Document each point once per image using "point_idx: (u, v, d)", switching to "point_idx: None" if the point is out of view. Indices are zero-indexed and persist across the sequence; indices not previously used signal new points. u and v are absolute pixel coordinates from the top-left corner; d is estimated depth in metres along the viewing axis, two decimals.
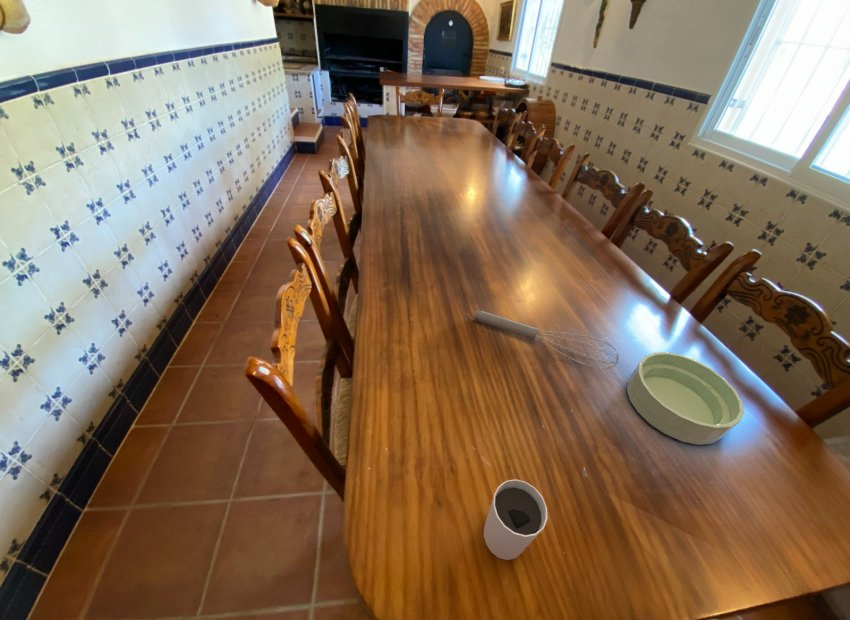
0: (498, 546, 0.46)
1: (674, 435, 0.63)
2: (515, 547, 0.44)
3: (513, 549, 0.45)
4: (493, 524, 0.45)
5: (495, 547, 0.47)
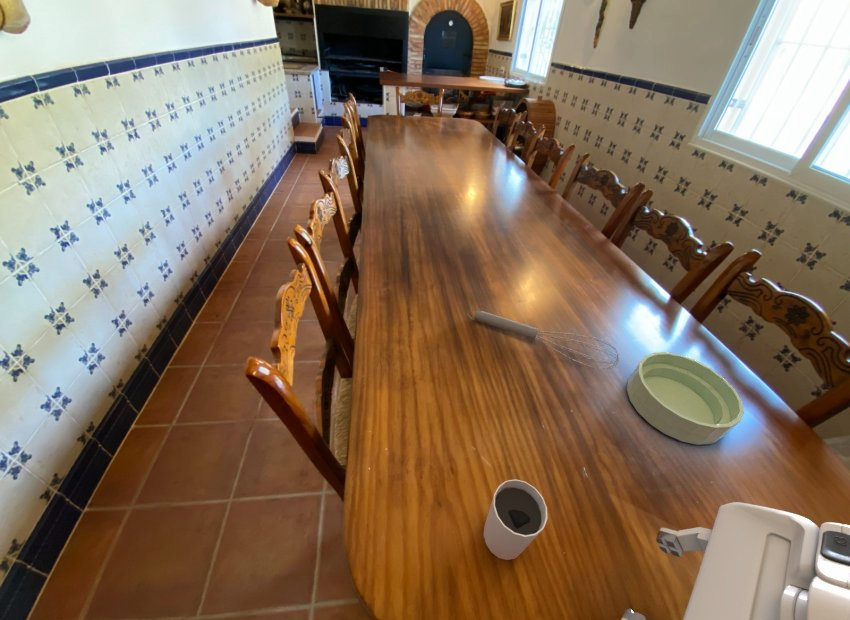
0: (498, 546, 0.46)
1: (674, 435, 0.63)
2: (515, 547, 0.44)
3: (513, 549, 0.45)
4: (493, 524, 0.45)
5: (495, 547, 0.47)
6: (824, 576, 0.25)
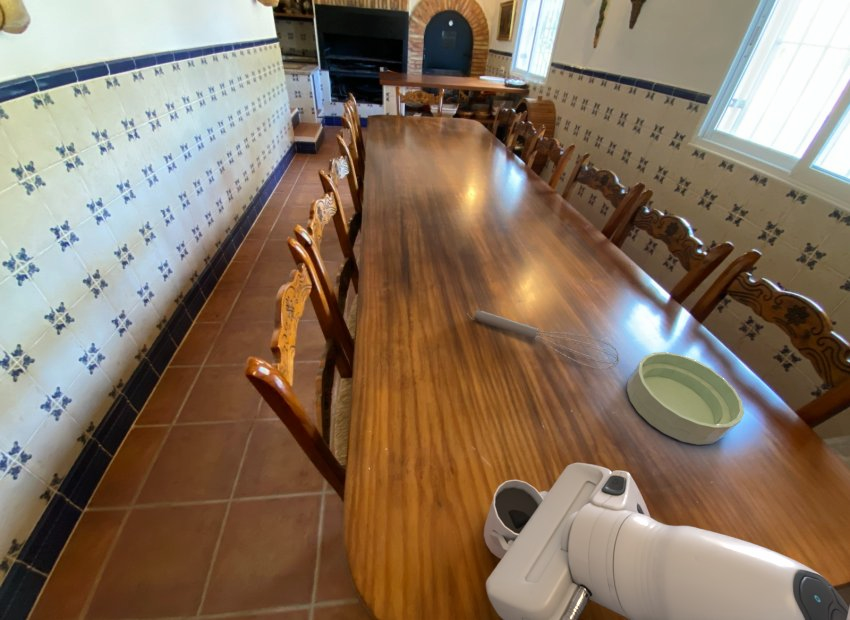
0: None
1: (674, 435, 0.63)
2: None
3: None
4: (493, 524, 0.45)
5: (495, 547, 0.47)
6: (593, 501, 0.38)
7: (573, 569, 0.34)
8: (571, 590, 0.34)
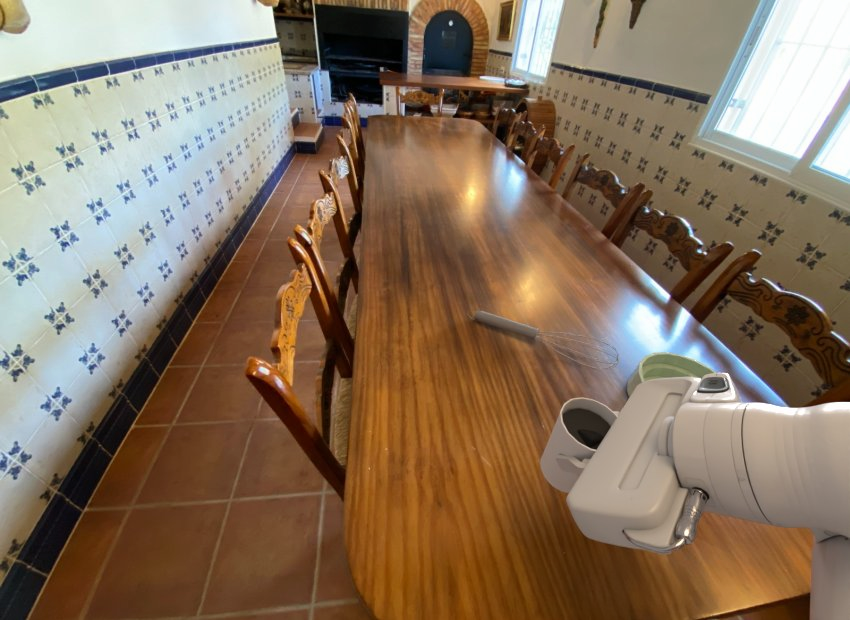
0: (563, 474, 0.40)
1: None
2: None
3: None
4: (560, 446, 0.38)
5: (559, 477, 0.41)
6: (693, 400, 0.32)
7: (682, 470, 0.28)
8: (681, 494, 0.28)
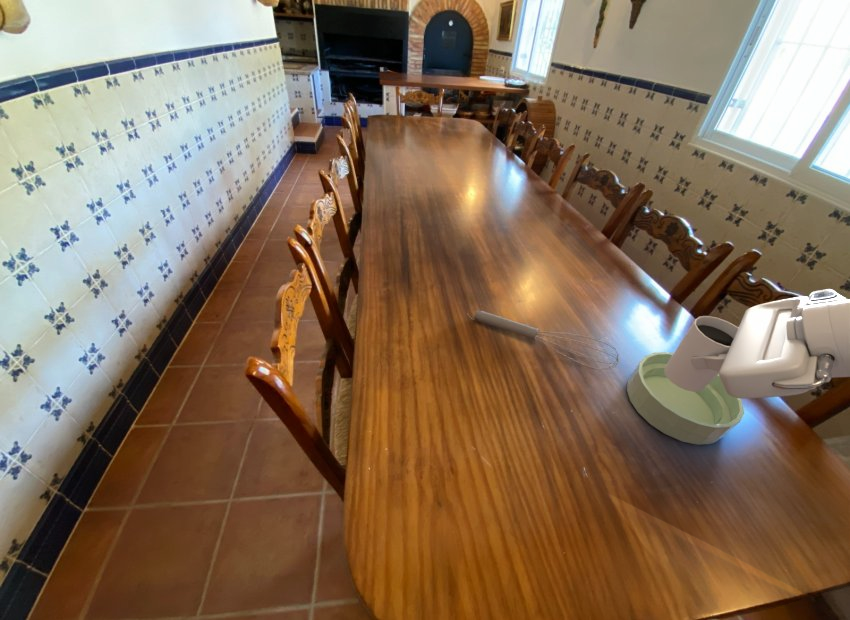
0: (693, 374, 0.53)
1: (674, 435, 0.63)
2: None
3: (711, 372, 0.51)
4: (694, 349, 0.51)
5: (687, 377, 0.53)
6: (811, 303, 0.44)
7: (812, 344, 0.41)
8: (813, 359, 0.40)
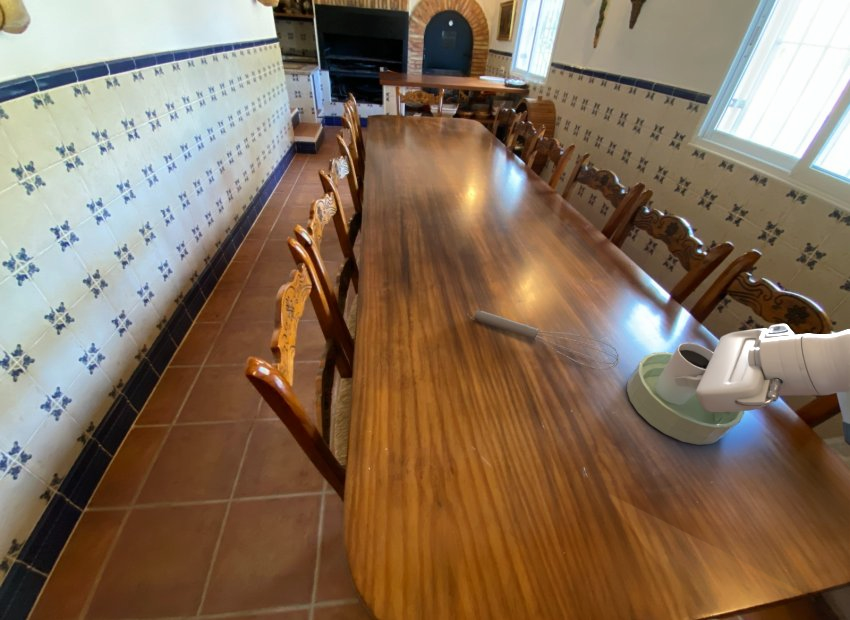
0: (677, 390, 0.64)
1: (674, 435, 0.63)
2: None
3: (691, 389, 0.63)
4: (677, 370, 0.63)
5: (673, 392, 0.65)
6: (768, 336, 0.56)
7: (766, 370, 0.52)
8: (766, 382, 0.52)
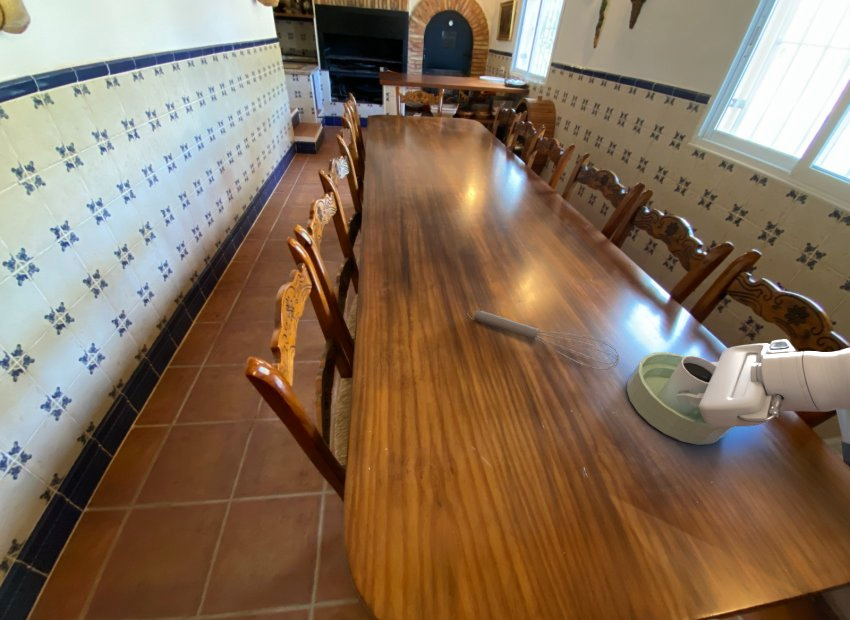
0: None
1: (674, 435, 0.63)
2: None
3: None
4: (681, 383, 0.64)
5: (676, 404, 0.66)
6: (769, 352, 0.57)
7: (768, 386, 0.54)
8: (768, 398, 0.53)
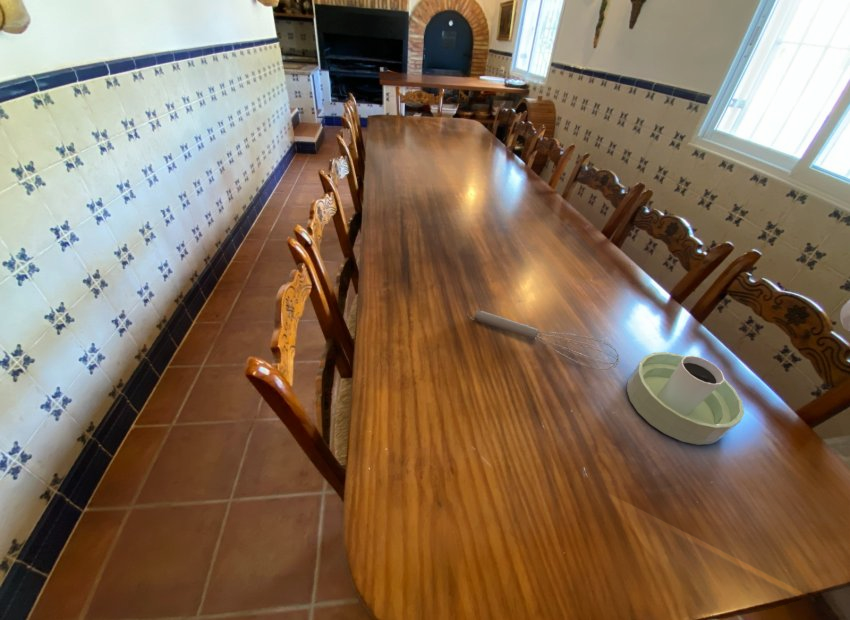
0: (681, 402, 0.65)
1: (674, 435, 0.63)
2: (698, 398, 0.64)
3: (695, 401, 0.64)
4: (681, 383, 0.64)
5: (676, 404, 0.66)
6: None
7: None
8: None
